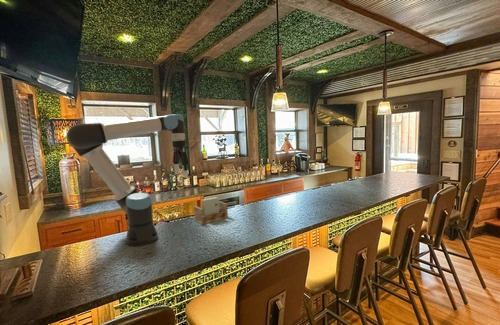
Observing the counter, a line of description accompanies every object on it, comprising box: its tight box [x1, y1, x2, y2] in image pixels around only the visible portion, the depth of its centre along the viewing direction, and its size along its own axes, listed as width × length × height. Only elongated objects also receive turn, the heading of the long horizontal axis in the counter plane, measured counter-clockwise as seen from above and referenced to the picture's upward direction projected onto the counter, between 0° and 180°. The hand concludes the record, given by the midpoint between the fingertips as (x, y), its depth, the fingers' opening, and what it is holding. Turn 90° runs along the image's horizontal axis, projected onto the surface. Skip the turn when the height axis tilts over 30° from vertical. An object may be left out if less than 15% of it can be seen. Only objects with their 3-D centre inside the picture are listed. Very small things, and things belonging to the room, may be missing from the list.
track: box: [193, 200, 229, 225], centre depth 156 cm, size 18×10×9 cm, turn 126°
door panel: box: [201, 196, 220, 216], centre depth 156 cm, size 10×4×12 cm, turn 126°
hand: (181, 175), depth 153 cm, fingers open, 13 cm apart
